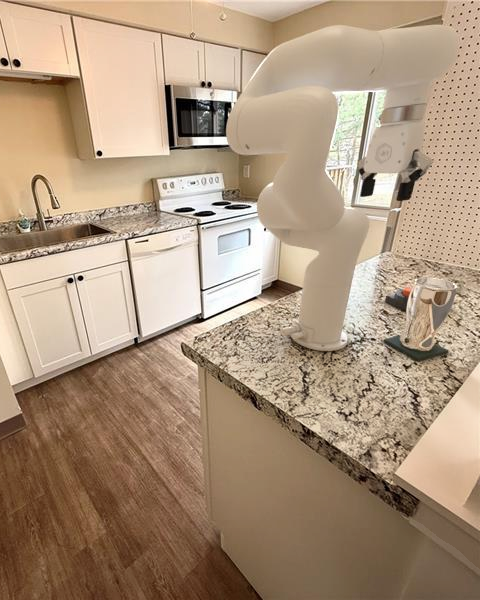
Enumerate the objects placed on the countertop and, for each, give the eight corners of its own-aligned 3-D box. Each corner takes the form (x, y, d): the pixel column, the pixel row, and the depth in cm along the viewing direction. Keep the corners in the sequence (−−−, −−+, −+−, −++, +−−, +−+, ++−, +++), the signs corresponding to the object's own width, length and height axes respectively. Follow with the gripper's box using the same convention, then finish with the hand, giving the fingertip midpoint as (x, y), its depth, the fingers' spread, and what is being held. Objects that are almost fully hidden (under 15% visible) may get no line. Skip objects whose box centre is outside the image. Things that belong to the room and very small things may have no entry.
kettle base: (413, 316, 81) (417, 302, 80) (382, 302, 89) (385, 290, 88) (449, 308, 83) (454, 294, 82) (415, 295, 91) (419, 283, 90)
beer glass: (421, 335, 72) (441, 276, 66) (444, 353, 66) (469, 289, 60) (389, 336, 73) (405, 277, 67) (408, 353, 67) (429, 290, 61)
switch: (411, 299, 83) (413, 293, 82) (398, 294, 86) (400, 288, 85) (422, 296, 83) (424, 290, 82) (409, 291, 86) (411, 286, 86)
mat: (417, 361, 66) (418, 358, 65) (383, 342, 73) (384, 339, 73) (447, 353, 67) (449, 350, 67) (411, 335, 74) (412, 332, 74)
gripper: (354, 123, 75) (341, 196, 82) (429, 112, 59) (405, 204, 66) (380, 120, 76) (365, 193, 83) (460, 109, 60) (434, 200, 68)
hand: (383, 198), depth 75 cm, fingers open, 9 cm apart
